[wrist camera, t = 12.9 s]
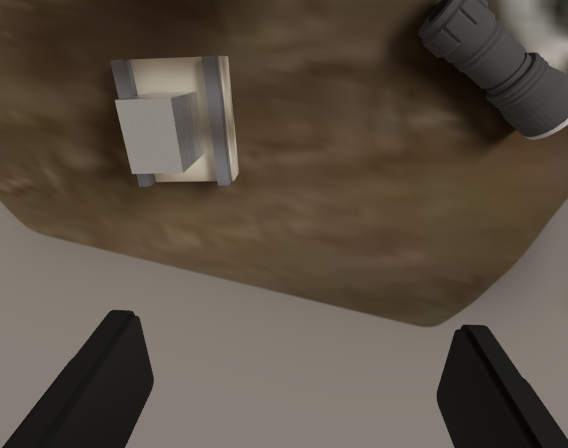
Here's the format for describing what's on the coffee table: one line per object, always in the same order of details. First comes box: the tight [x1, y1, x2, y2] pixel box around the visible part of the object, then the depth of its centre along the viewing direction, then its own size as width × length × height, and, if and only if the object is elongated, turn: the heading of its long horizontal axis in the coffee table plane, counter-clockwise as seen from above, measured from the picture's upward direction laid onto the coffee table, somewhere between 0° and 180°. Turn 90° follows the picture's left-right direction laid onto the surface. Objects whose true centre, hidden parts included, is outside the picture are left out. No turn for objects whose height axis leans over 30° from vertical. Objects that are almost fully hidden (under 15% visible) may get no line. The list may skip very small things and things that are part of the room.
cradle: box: [110, 56, 239, 187], centre depth 35 cm, size 12×10×4 cm
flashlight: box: [418, 0, 568, 140], centre depth 31 cm, size 15×5×5 cm, turn 55°
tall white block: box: [115, 91, 205, 174], centre depth 31 cm, size 6×4×7 cm
